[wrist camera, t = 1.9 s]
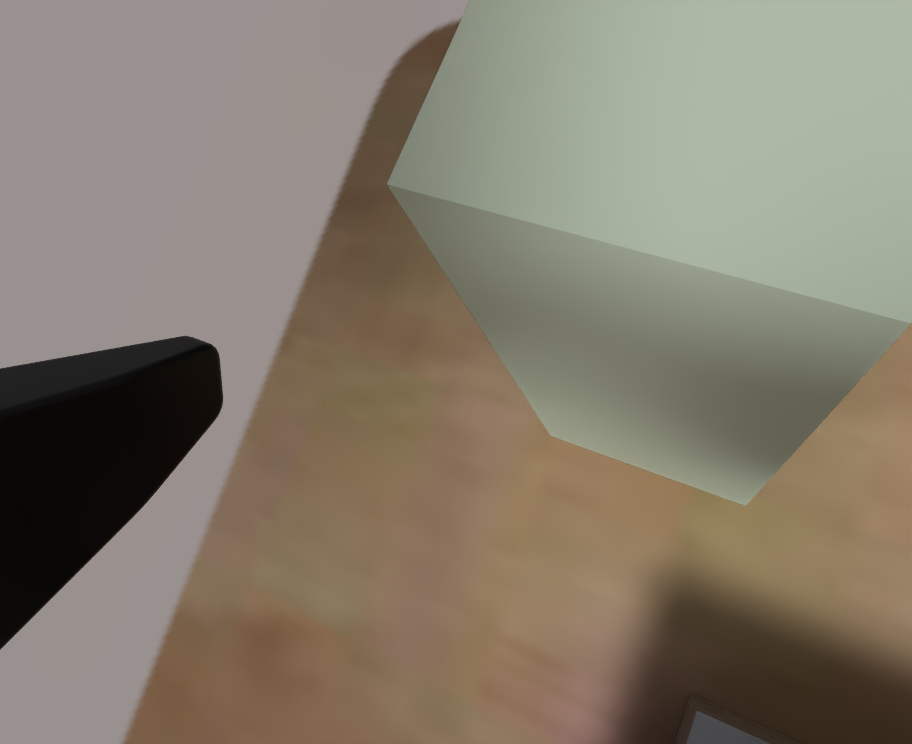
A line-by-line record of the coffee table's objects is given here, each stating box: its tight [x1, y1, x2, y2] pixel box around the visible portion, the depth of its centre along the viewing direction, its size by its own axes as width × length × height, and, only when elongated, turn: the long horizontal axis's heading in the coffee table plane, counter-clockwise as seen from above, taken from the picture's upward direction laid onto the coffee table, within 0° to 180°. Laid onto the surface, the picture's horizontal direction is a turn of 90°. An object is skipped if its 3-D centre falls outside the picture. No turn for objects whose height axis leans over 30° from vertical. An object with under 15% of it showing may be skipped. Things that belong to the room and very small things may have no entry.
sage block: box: [387, 0, 912, 506], centre depth 14 cm, size 5×5×13 cm
